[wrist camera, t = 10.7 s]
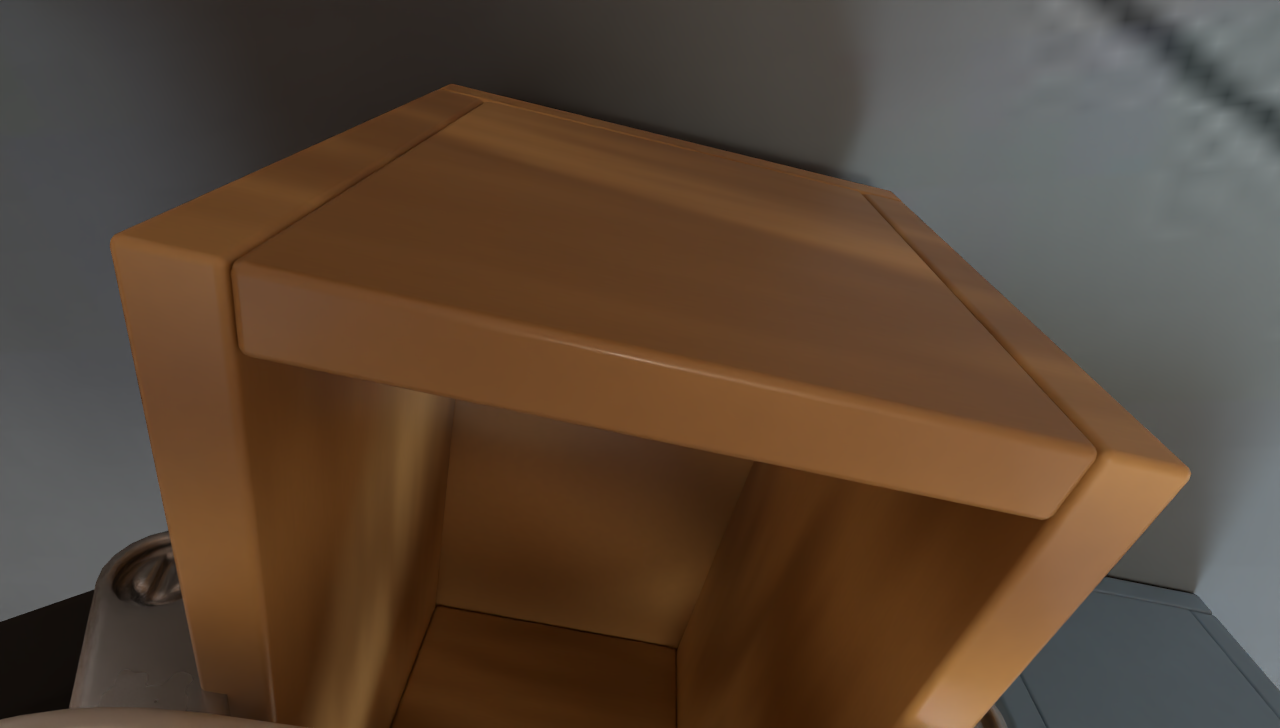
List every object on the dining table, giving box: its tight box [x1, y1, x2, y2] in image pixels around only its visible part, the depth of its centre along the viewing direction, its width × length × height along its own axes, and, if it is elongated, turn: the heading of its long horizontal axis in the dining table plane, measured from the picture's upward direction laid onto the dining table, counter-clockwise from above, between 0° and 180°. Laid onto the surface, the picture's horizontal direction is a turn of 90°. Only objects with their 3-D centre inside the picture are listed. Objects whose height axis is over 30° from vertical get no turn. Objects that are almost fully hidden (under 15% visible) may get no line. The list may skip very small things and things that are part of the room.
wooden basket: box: [110, 84, 1191, 728], centre depth 10 cm, size 12×7×7 cm, turn 167°
